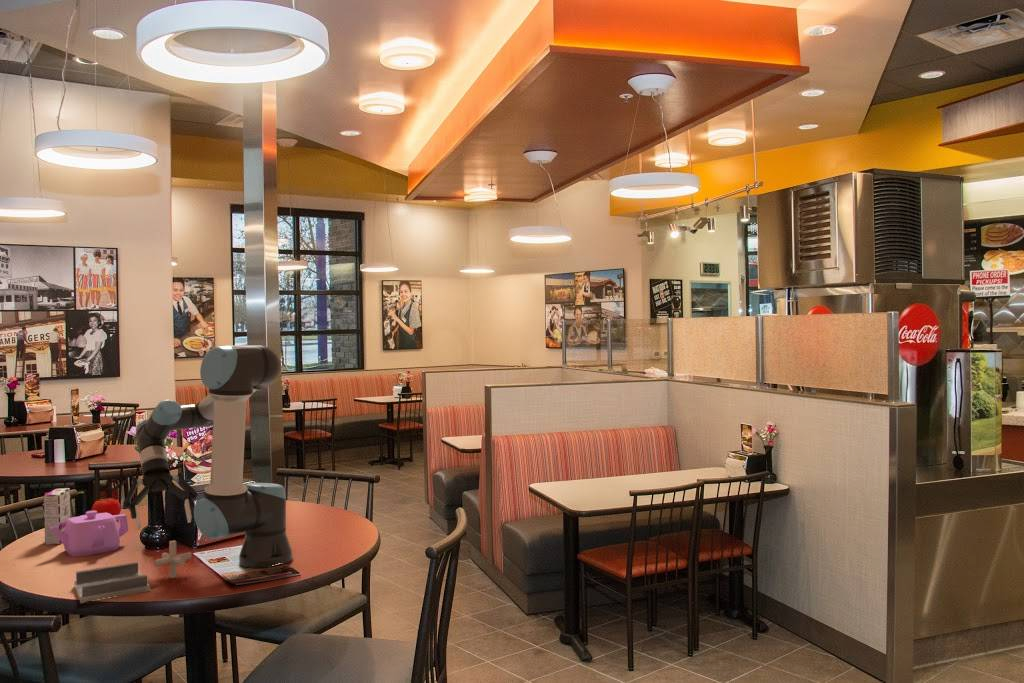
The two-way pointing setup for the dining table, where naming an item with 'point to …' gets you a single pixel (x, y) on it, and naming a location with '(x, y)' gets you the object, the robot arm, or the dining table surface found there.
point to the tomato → (107, 506)
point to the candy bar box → (56, 513)
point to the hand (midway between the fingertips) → (164, 523)
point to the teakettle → (92, 533)
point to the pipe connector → (172, 559)
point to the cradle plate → (133, 591)
